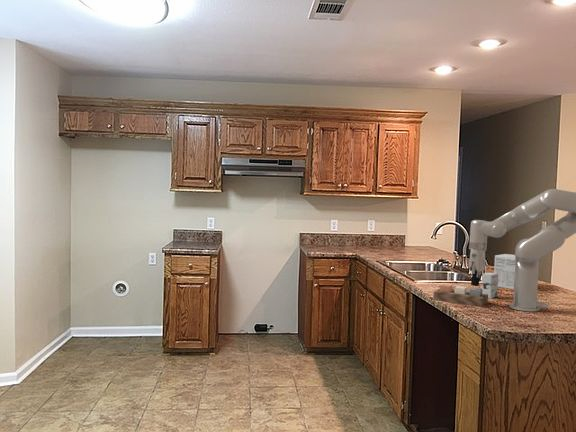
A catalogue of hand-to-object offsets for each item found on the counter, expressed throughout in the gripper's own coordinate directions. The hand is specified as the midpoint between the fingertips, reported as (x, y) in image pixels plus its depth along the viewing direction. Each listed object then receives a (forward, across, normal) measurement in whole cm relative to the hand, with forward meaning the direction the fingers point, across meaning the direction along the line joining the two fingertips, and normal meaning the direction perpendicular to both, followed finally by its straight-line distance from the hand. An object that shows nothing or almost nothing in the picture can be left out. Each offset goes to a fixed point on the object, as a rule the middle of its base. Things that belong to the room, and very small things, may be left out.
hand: (474, 285), depth 227 cm
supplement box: (+8, +58, -4) cm, 59 cm away
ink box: (+9, +21, -2) cm, 23 cm away
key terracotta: (+6, 0, +13) cm, 14 cm away
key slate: (+6, 0, -1) cm, 6 cm away
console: (+9, 0, +6) cm, 11 cm away
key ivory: (+6, 0, +6) cm, 9 cm away
